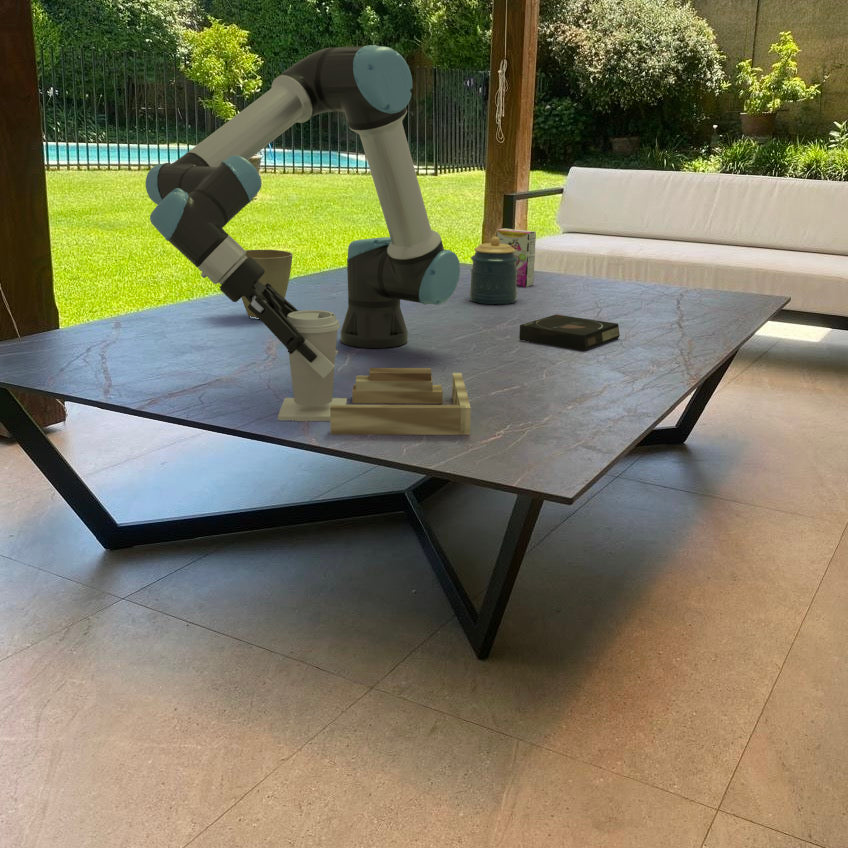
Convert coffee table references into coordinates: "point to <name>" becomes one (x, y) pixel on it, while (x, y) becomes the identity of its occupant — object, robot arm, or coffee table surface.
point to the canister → (494, 273)
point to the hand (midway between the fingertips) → (331, 364)
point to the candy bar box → (521, 252)
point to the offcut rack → (406, 417)
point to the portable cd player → (569, 332)
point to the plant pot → (271, 271)
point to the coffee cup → (323, 336)
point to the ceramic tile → (307, 410)
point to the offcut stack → (397, 387)
